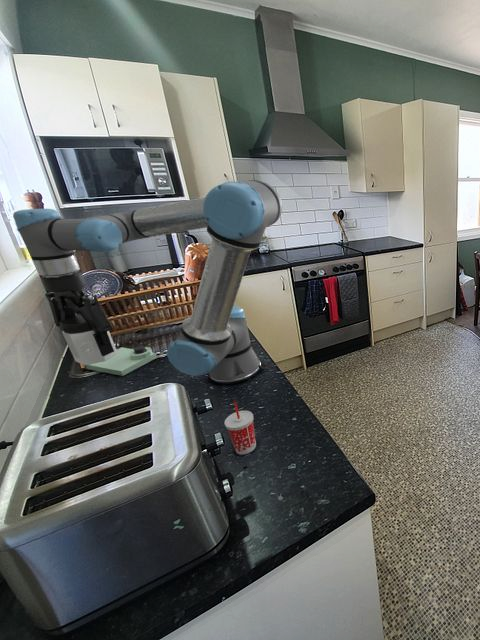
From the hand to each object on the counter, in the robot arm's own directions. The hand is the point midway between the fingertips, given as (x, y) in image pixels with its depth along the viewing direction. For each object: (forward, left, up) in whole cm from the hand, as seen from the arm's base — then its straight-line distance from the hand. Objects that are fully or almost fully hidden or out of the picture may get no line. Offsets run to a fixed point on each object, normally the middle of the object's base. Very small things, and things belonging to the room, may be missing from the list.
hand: (94, 351), depth 96 cm
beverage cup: (-51, +8, -15) cm, 54 cm away
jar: (0, 0, -2) cm, 2 cm away
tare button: (+10, -18, -12) cm, 24 cm away
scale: (+15, -14, -15) cm, 25 cm away
